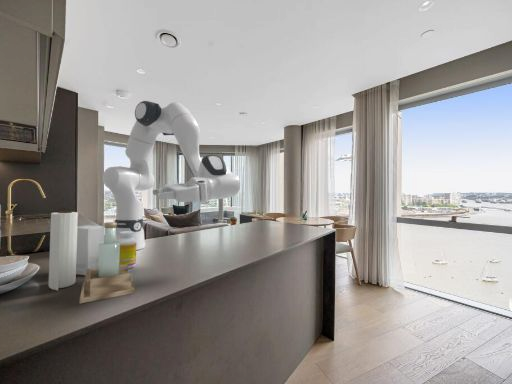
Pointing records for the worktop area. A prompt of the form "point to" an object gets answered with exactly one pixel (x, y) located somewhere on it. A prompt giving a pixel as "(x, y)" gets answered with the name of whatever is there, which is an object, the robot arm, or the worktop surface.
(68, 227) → the paper towel roll
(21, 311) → the worktop surface
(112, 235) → the glass bottle
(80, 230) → the skincare box
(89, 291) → the bottle stand
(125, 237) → the supplement bottle
